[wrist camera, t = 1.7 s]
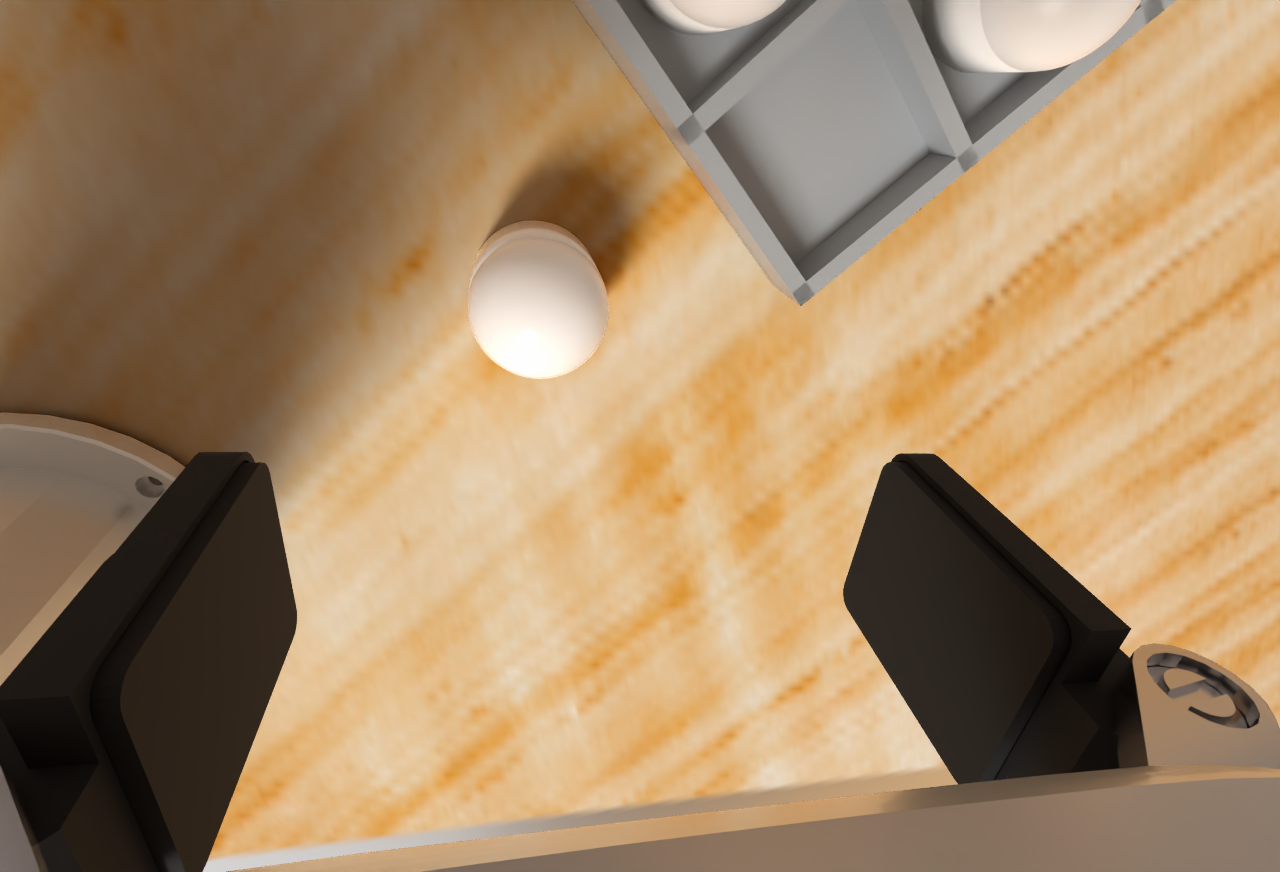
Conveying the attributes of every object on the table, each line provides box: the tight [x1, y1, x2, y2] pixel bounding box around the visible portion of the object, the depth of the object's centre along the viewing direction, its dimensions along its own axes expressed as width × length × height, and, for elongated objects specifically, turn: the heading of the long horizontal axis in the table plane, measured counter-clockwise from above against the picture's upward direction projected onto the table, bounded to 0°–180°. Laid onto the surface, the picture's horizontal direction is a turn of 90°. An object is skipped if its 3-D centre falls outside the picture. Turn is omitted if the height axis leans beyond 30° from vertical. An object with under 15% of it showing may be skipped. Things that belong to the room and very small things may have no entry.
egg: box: [467, 220, 609, 379], centre depth 21 cm, size 4×4×5 cm
